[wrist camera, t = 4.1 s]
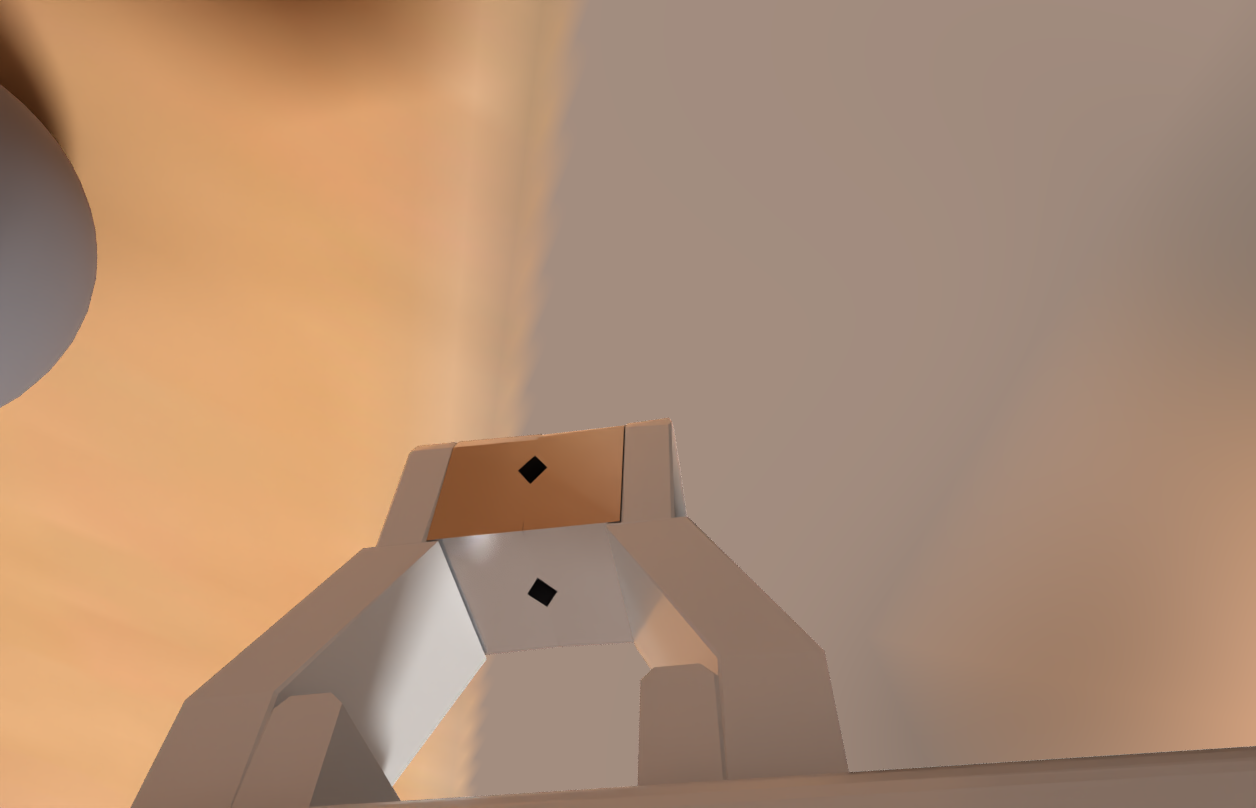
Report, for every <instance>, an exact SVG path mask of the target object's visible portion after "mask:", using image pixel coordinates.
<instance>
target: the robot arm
mask: <svg viewBox="0 0 1256 808" xmlns="http://www.w3.org/2000/svg"><path fill="white" fill-rule="evenodd" d="M618 643H634V644H635V647H636V648H637V650H638V651H639V653H640V654H641V656H642V657H643V659H644V660H645V662H646V663H647V665H648V666H649V667H650V669H651V671H650V672H649V673H648V674H647V675H646V676H645V677H644V678H643V679H642V680H641V682H640V718H639V721H640V722H639V754H638V786H629V787H613V788H598V789H584V790H583V789H582V790H568V791H553V792H537V793H520V794H505V795H488V796H473V797H457V798H441V799H425V800H409V801H400V799H399V797H398V796H397V794H396V792H395V791H394V789H393V787H392V786H393V785H394V783H395V782H396V781H397V779H398V778H399V777H400V775H401V774H402V773H403V771H404V770H405V769H406V767H407V766H408V765H409V763H410V762H411V761H412V759H413V758H414V756H415V755H416V754H417V752H418V751H419V750H420V748H421V747H422V746H423V744H424V743H425V742H426V740H427V739H428V738H429V736H430V735H431V734H432V732H433V731H434V729H435V728H436V727H437V725H438V724H439V723H440V721H441V720H442V719H443V717H444V716H445V715H446V713H447V712H448V711H449V709H450V708H451V707H452V705H453V704H454V702H455V701H456V700H457V698H458V697H459V696H460V694H461V693H462V692H463V690H464V689H465V688H466V686H467V685H468V684H469V682H470V681H471V680H472V678H473V677H474V675H475V674H476V673H477V671H478V670H479V669H480V667H481V666H482V665H483V663H484V662H485V661H486V656H485V655H490V654H499V653H508V652H517V651H526V650H535V649H544V648H553V647H564V646H583V645H601V644H618ZM131 808H1256V746H1252V747H1251V746H1250V747H1235V748H1218V749H1203V750H1187V751H1173V752H1172V751H1171V752H1157V753H1141V754H1124V755H1110V756H1093V757H1077V758H1064V759H1063V758H1062V759H1046V760H1031V761H1015V762H1000V763H985V764H984V763H983V764H968V765H952V766H937V767H921V768H905V769H889V770H873V771H859V772H849V769H848V764H847V759H846V754H845V749H844V745H843V739H842V734H841V730H840V725H839V720H838V715H837V710H836V705H835V700H834V695H833V690H832V685H831V680H830V675H829V671H828V665H827V660H826V655H825V651H824V650H823V649H822V648H821V647H820V646H819V645H818V644H817V643H816V642H815V641H814V640H813V639H812V638H811V637H810V636H809V635H808V634H807V633H806V632H805V631H804V630H803V629H802V628H801V627H800V626H799V625H798V624H797V623H796V622H794V620H793V619H792V618H791V617H790V616H789V615H788V614H787V613H786V612H784V611H783V609H782V608H781V607H780V606H778V605H777V604H776V603H775V602H774V601H773V600H772V599H771V598H770V597H769V596H768V595H767V594H766V593H765V592H764V591H763V590H762V589H761V588H760V587H759V586H758V585H757V584H756V583H755V582H754V581H753V580H752V579H751V578H750V577H749V576H748V575H747V574H746V573H745V572H744V571H743V570H742V569H741V568H740V567H738V565H737V564H736V563H734V561H733V560H732V559H731V558H729V556H728V555H727V554H725V552H723V551H722V550H721V549H720V548H719V547H718V546H717V545H716V544H715V543H714V542H713V541H712V540H711V539H710V538H709V537H708V536H707V535H706V534H705V533H704V532H703V531H702V530H701V529H700V528H699V527H698V526H697V525H696V524H695V523H694V522H693V521H692V520H691V519H690V518H689V517H687V514H686V505H685V497H684V491H683V484H682V478H681V471H680V465H679V458H678V452H677V445H676V439H675V432H674V427H673V423H672V421H671V420H670V418H663V419H655V420H648V421H641V422H634V423H627V425H622V426H614V427H606V428H596V429H588V430H579V431H570V432H562V433H553V434H545V435H542V434H538V435H527V436H516V437H504V438H493V439H482V440H471V441H460V442H458V443H455V442H452V443H442V444H433V445H423V446H417V447H416V448H415V449H413V450H412V451H411V452H410V454H409V455H408V458H407V461H406V464H405V467H404V469H403V472H402V475H401V478H400V480H399V483H398V486H397V489H396V492H395V494H394V497H393V500H392V503H391V506H390V508H389V511H388V514H387V517H386V519H385V522H384V525H383V528H382V531H381V533H380V536H379V539H378V542H377V545H376V547H371V548H363V549H362V550H361V551H359V552H358V553H357V554H356V555H355V556H354V557H352V558H351V559H350V560H349V561H348V562H346V563H345V564H344V565H343V566H342V567H341V568H339V569H338V570H337V571H336V572H335V573H334V574H332V575H331V576H330V577H329V578H328V579H327V580H325V581H324V582H323V583H322V584H321V585H320V586H318V587H317V588H316V589H315V590H314V591H312V592H311V593H310V594H309V595H308V596H307V597H305V598H304V599H303V600H302V601H301V602H300V603H298V604H297V605H296V606H295V607H294V608H293V609H291V610H290V611H289V612H288V613H287V614H286V615H284V616H283V617H282V618H281V619H280V620H278V621H277V622H276V623H275V624H274V625H273V626H271V627H270V628H269V629H268V630H267V631H266V632H264V633H263V634H262V635H261V636H260V637H259V638H257V639H256V640H255V641H254V642H253V643H252V644H250V645H249V646H248V647H247V648H246V649H244V650H243V651H242V652H241V653H240V654H239V655H237V656H236V657H235V658H234V659H233V660H232V661H230V662H229V663H228V664H227V665H226V666H225V667H223V668H222V669H221V670H220V671H219V672H218V673H216V674H215V675H214V676H213V677H212V678H210V679H209V680H208V681H207V682H206V683H205V684H203V685H202V686H201V687H200V688H199V689H198V690H196V691H195V692H194V693H193V694H192V695H191V696H189V697H188V698H187V699H186V700H185V701H184V703H183V705H182V707H181V709H180V711H179V713H178V715H177V717H176V719H175V721H174V723H173V725H172V727H171V729H170V731H169V733H168V735H167V737H166V739H165V741H164V743H163V745H162V747H161V749H160V751H159V753H158V755H157V756H156V758H155V760H154V762H153V764H152V766H151V768H150V770H149V772H148V774H147V776H146V778H145V780H144V782H143V784H142V786H141V788H140V790H139V792H138V794H137V796H136V798H135V800H134V802H133V804H132V806H131Z"/></svg>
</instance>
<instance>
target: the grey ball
mask: <svg viewBox="0 0 1256 808" xmlns="http://www.w3.org/2000/svg"><path fill="white" fill-rule="evenodd" d="M96 270H97V243H96V232H95V226H94V222H93V217H92V213H91V209H90V206H89V203H88V201H87V198H86V195H85V193H84V190H83V187H82V185H81V182H80V180H79V178H78V176H77V174H76V172H75V170H74V168H73V166H72V164H71V162H70V161H69V159H68V158H67V156H66V155H65V153H64V152H63V150H62V148H61V147H60V145H59V144H58V142H57V141H56V140H55V139H54V137H53V136H52V135H51V134H50V132H49V131H48V130H47V129H46V127H45V126H44V125H43V124H42V123H41V122H40V120H39V119H38V118H37V117H36V116H35V115H34V114H33V113H32V112H31V111H30V110H29V109H28V108H27V107H26V106H25V105H24V104H23V103H22V102H21V101H19V100H18V99H17V98H16V97H15V96H14V95H13V94H12V93H10V92H9V91H8V90H7V89H6V88H5V87H3V86H2V85H0V408H1V407H2V406H4V405H6V404H7V403H9V402H11V401H12V400H14V399H16V398H18V397H19V396H21V395H22V394H23V393H24V392H25V391H27V390H28V389H29V388H30V387H31V386H33V385H34V384H35V383H36V382H37V381H38V380H40V379H41V378H42V377H43V376H44V375H45V374H46V373H48V372H49V371H50V370H51V368H52V367H53V366H54V365H55V364H56V362H57V361H58V360H59V359H60V357H61V356H62V355H63V354H64V352H65V351H66V350H67V348H68V347H69V346H70V344H71V343H72V342H73V340H74V338H75V336H76V334H77V332H78V330H79V328H80V326H81V324H82V322H83V320H84V318H85V316H86V314H87V312H88V308H89V304H90V300H91V296H92V292H93V288H94V284H95V280H96Z"/></svg>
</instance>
